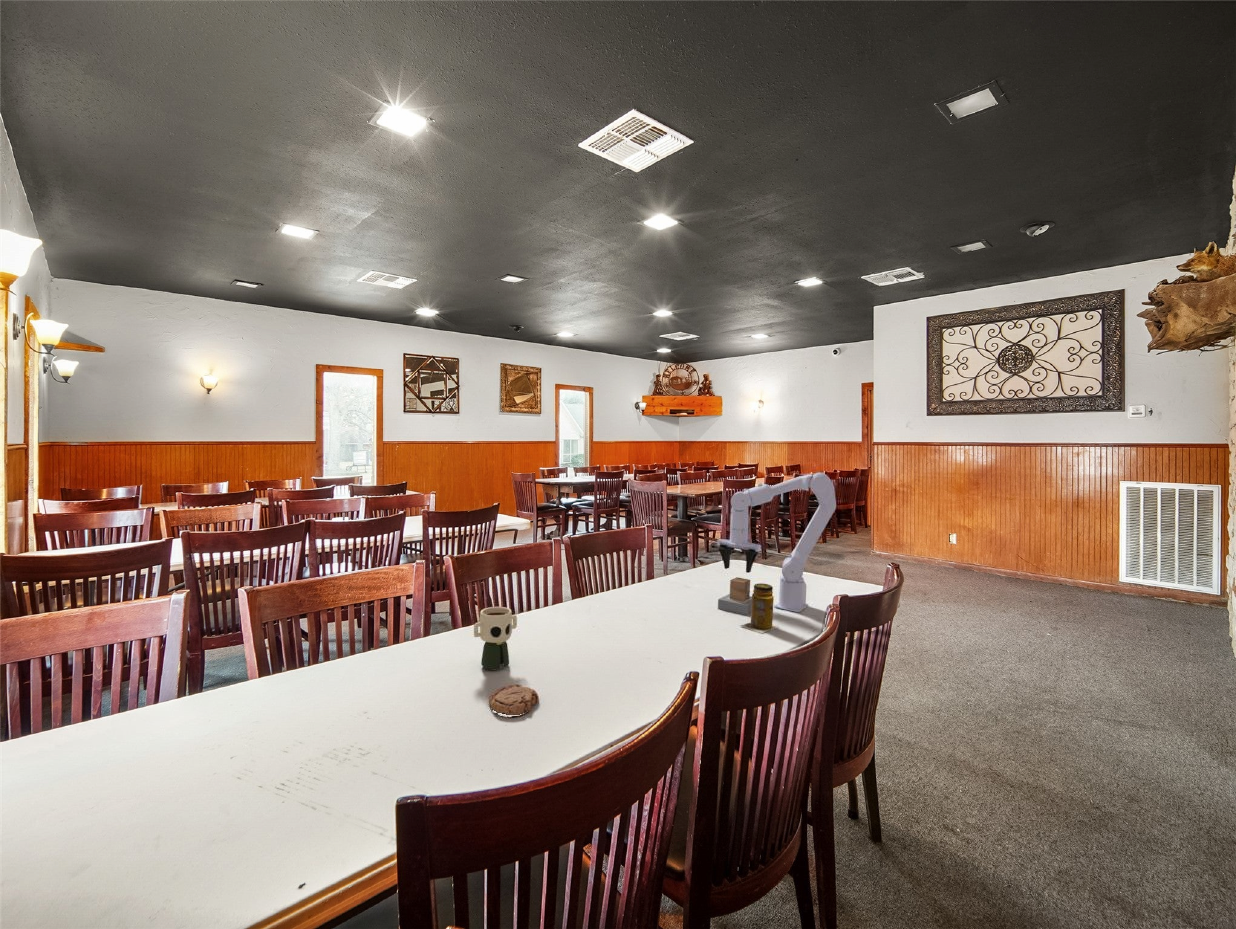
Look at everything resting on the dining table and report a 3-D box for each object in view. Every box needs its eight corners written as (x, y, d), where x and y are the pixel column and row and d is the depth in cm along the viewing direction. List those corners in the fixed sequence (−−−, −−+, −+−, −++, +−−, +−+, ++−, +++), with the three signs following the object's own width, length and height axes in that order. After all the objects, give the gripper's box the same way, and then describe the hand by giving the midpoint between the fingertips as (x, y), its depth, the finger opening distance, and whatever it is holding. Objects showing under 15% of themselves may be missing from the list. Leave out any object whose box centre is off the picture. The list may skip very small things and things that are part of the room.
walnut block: (736, 595, 188) (736, 577, 188) (749, 598, 185) (750, 579, 185) (729, 598, 184) (730, 579, 184) (743, 601, 182) (744, 582, 181)
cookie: (489, 721, 111) (489, 706, 110) (487, 696, 121) (488, 682, 121) (542, 716, 113) (542, 701, 113) (536, 692, 123) (536, 678, 123)
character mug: (481, 677, 129) (481, 619, 128) (466, 667, 134) (466, 611, 133) (523, 665, 136) (524, 610, 135) (508, 656, 141) (509, 603, 141)
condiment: (778, 627, 168) (780, 585, 168) (762, 633, 162) (764, 591, 162) (756, 620, 173) (758, 580, 173) (739, 626, 168) (741, 585, 167)
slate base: (732, 601, 192) (732, 592, 192) (760, 607, 186) (761, 598, 186) (717, 608, 184) (718, 598, 184) (747, 615, 178) (747, 605, 178)
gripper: (713, 527, 192) (711, 568, 193) (755, 533, 183) (753, 576, 184) (723, 525, 198) (721, 564, 198) (764, 530, 189) (762, 572, 190)
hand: (737, 570), depth 192 cm, fingers open, 7 cm apart
